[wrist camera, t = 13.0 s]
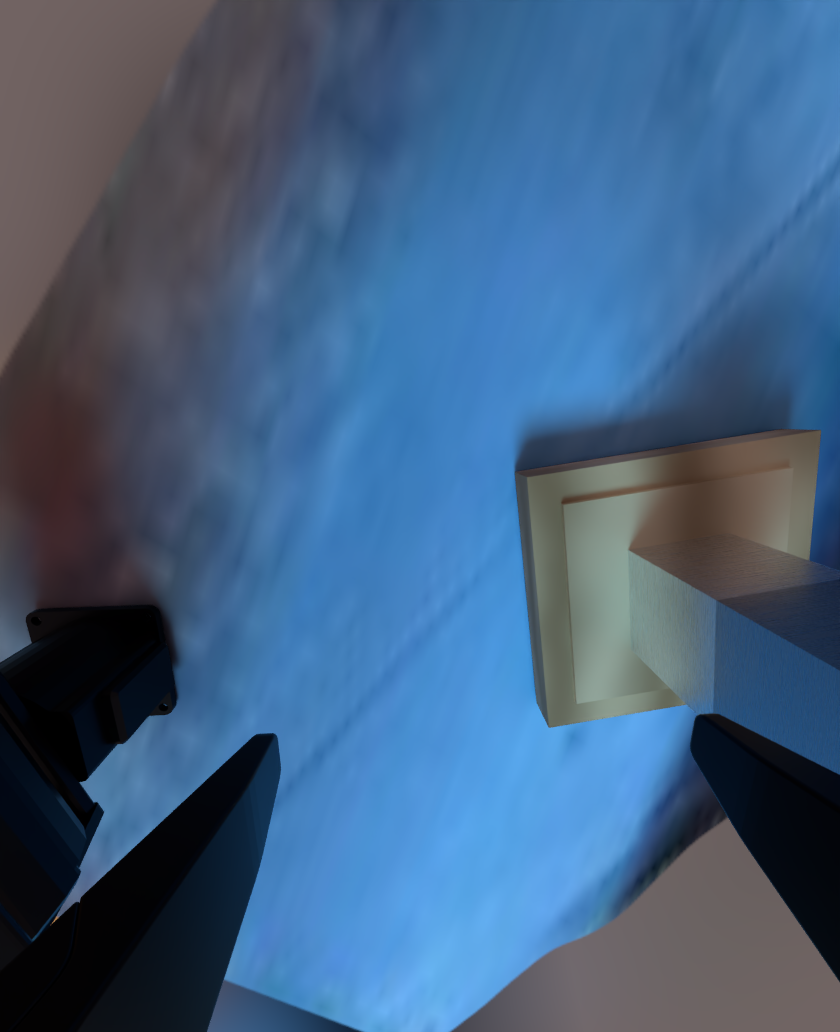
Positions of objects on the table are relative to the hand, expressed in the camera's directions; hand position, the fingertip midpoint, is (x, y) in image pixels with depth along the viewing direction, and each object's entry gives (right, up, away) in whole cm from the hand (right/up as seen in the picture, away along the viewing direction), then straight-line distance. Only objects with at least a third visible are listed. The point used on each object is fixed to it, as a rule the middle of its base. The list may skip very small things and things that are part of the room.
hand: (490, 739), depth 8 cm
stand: (+11, +1, +14) cm, 18 cm away
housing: (+11, +1, +11) cm, 16 cm away
